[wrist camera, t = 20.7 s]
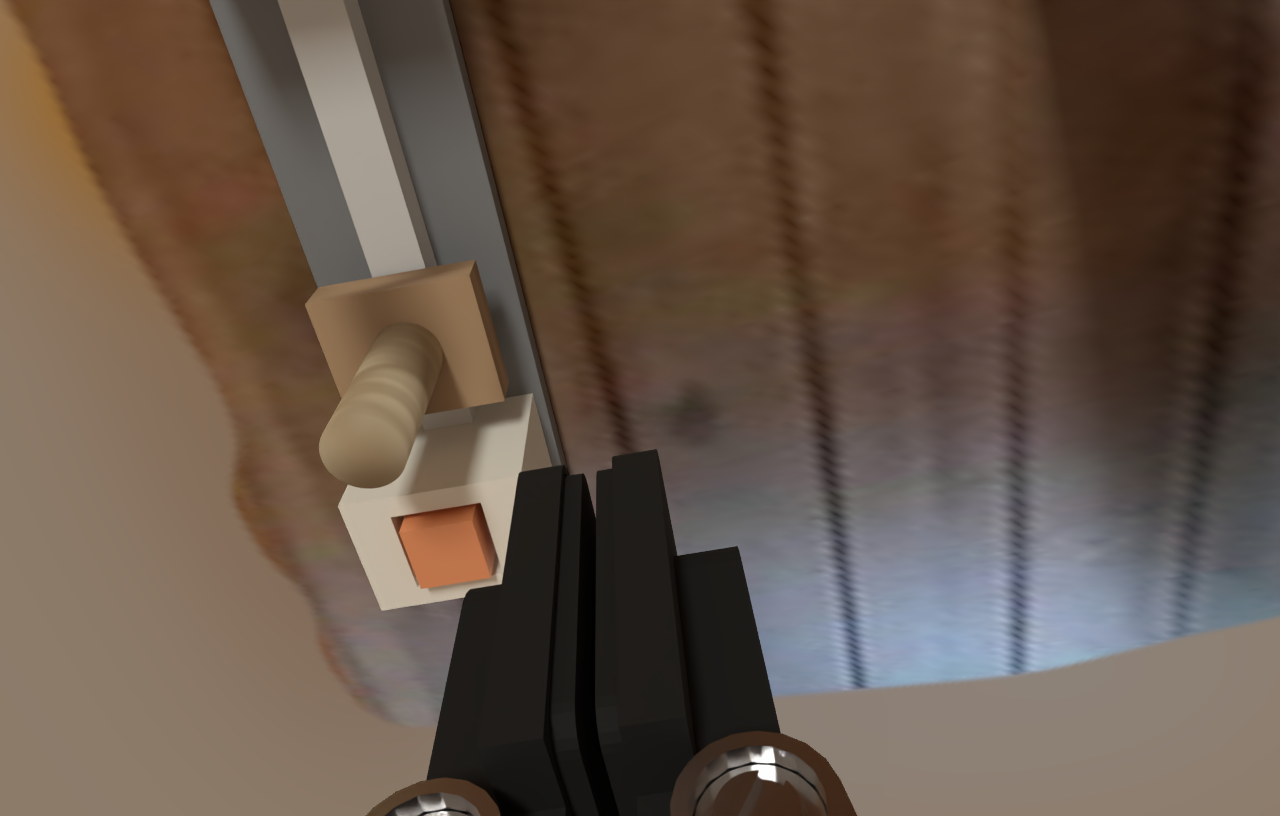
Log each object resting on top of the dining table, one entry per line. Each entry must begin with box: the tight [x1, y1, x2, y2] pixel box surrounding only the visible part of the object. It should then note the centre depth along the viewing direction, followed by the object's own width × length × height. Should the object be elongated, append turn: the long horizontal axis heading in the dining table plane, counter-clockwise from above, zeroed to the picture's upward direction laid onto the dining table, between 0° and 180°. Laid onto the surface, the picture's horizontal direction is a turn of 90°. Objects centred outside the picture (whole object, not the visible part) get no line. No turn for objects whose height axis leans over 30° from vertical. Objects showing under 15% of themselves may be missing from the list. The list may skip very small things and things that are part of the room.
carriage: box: [305, 259, 509, 489], centre depth 34 cm, size 7×6×10 cm
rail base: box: [209, 0, 567, 610], centre depth 35 cm, size 9×36×9 cm, turn 10°
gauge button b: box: [399, 503, 496, 589], centre depth 39 cm, size 3×3×4 cm
